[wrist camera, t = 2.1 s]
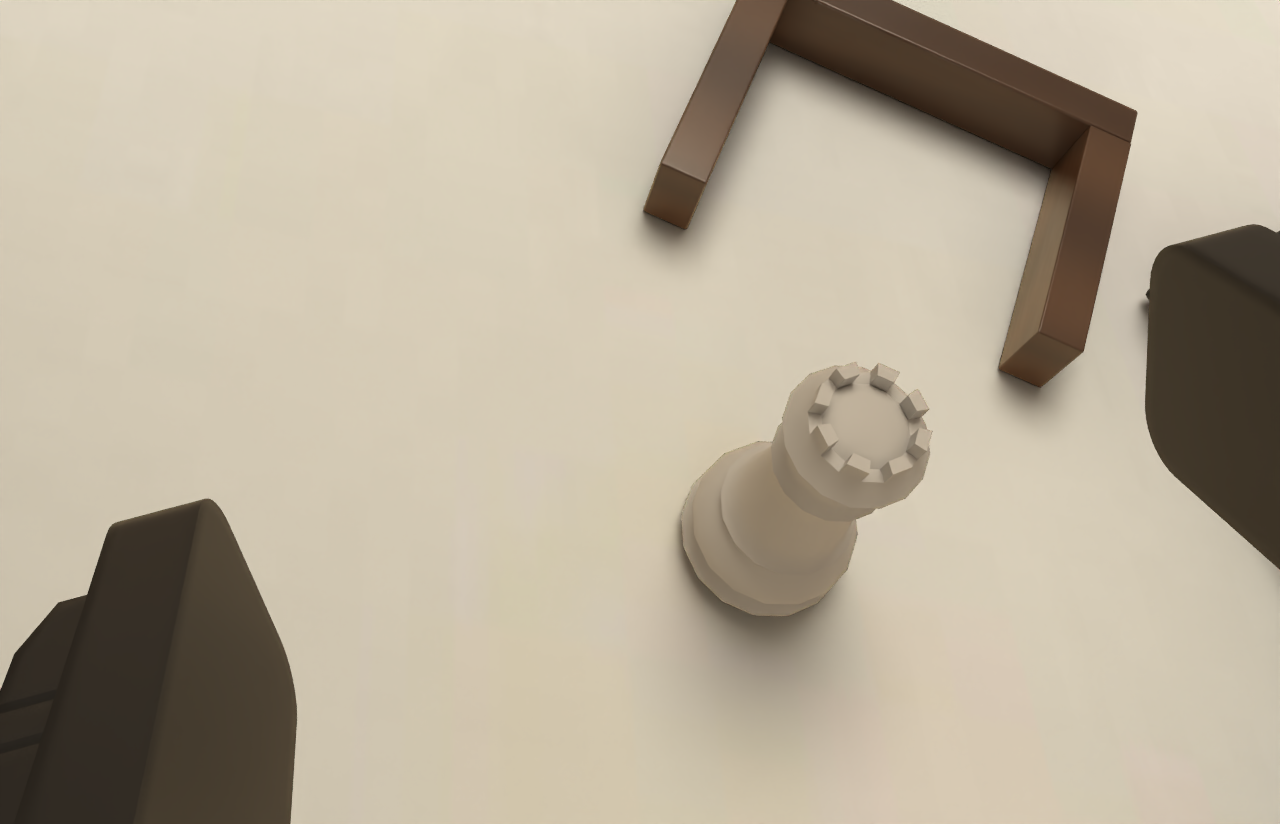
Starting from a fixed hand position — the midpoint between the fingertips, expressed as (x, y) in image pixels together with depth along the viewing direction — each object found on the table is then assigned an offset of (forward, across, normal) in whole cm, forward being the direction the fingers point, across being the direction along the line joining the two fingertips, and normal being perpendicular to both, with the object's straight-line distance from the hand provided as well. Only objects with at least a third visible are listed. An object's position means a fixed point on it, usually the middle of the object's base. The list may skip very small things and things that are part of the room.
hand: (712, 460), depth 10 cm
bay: (+25, -11, +9) cm, 29 cm away
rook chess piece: (+16, -3, +14) cm, 22 cm away
